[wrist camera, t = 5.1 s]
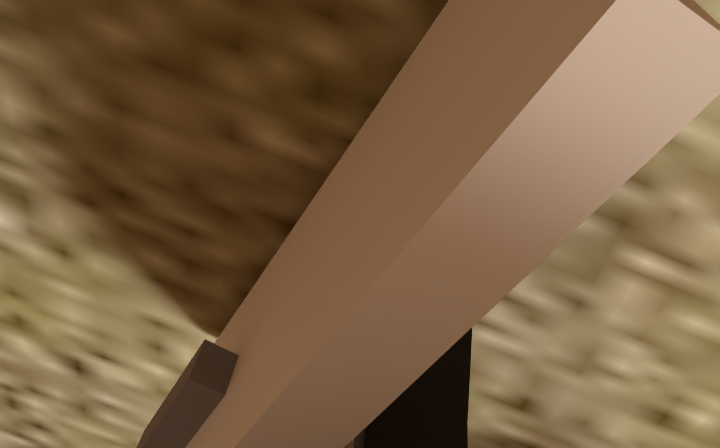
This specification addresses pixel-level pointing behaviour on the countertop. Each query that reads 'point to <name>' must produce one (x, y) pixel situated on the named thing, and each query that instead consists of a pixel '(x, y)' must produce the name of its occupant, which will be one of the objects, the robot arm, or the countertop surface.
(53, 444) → the countertop surface
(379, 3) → the countertop surface
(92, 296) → the countertop surface
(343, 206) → the door
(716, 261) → the countertop surface
